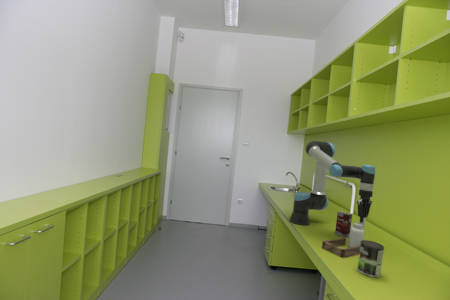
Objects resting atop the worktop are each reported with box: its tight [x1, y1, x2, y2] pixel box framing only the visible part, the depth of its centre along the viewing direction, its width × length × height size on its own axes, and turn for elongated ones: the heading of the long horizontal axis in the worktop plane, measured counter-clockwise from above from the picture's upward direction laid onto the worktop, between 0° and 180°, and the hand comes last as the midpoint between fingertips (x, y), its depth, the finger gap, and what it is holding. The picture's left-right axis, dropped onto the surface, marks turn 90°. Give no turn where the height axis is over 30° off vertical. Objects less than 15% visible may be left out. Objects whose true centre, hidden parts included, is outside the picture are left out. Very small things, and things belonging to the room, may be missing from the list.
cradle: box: [321, 237, 360, 259], centre depth 159 cm, size 14×20×4 cm
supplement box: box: [334, 211, 353, 239], centre depth 188 cm, size 9×5×16 cm, turn 40°
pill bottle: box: [347, 222, 366, 248], centre depth 166 cm, size 8×8×15 cm
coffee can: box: [357, 239, 385, 278], centre depth 133 cm, size 10×10×14 cm
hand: (361, 227), depth 168 cm, fingers closed
